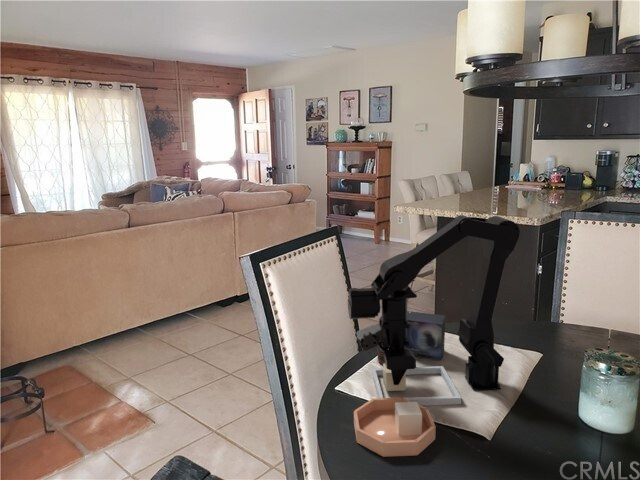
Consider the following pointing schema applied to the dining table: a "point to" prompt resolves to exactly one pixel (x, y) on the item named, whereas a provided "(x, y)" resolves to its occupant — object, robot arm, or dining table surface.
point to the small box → (426, 335)
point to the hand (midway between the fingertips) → (394, 379)
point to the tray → (425, 400)
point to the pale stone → (408, 418)
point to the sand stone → (389, 381)
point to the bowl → (390, 429)
